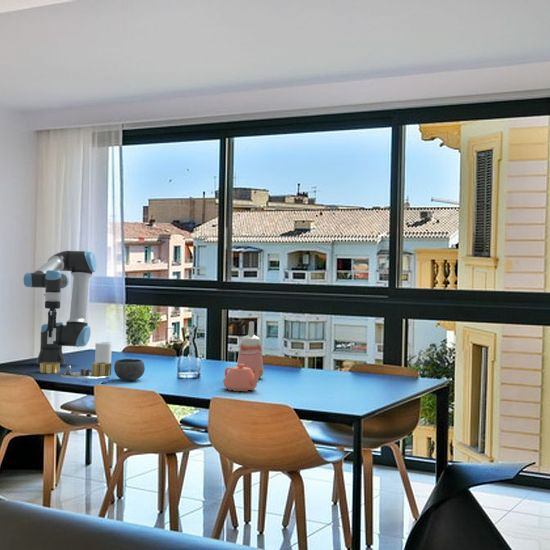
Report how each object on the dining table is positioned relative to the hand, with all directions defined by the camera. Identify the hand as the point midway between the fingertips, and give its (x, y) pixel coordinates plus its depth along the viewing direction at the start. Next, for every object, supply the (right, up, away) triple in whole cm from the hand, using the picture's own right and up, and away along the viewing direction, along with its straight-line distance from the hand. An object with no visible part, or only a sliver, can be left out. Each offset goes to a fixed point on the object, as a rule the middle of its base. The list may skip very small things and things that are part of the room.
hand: (51, 342), depth 399 cm
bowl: (+41, -18, -8) cm, 46 cm away
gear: (-1, -17, 0) cm, 17 cm away
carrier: (+18, -17, -6) cm, 26 cm away
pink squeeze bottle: (+100, -20, +13) cm, 103 cm away
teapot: (+98, -21, -27) cm, 103 cm away
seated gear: (+26, -16, -4) cm, 31 cm away
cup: (+23, -18, +13) cm, 32 cm away
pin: (+10, -16, -7) cm, 20 cm away
